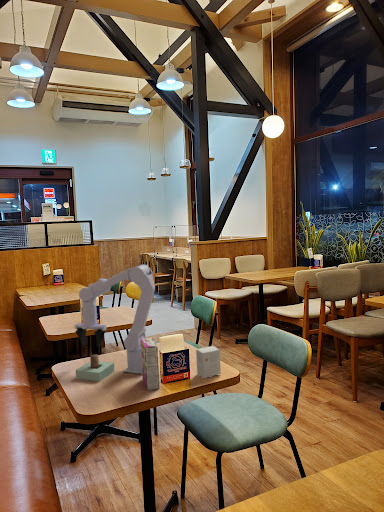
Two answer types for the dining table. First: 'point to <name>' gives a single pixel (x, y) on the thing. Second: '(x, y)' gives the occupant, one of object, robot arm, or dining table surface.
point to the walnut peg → (94, 361)
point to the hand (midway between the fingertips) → (91, 345)
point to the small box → (208, 361)
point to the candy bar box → (150, 363)
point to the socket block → (95, 371)
